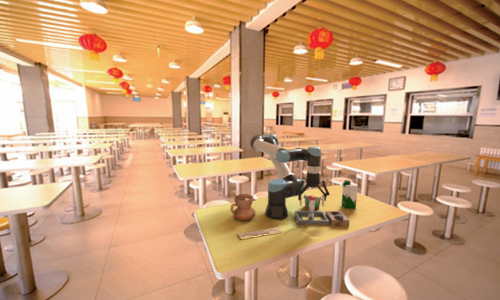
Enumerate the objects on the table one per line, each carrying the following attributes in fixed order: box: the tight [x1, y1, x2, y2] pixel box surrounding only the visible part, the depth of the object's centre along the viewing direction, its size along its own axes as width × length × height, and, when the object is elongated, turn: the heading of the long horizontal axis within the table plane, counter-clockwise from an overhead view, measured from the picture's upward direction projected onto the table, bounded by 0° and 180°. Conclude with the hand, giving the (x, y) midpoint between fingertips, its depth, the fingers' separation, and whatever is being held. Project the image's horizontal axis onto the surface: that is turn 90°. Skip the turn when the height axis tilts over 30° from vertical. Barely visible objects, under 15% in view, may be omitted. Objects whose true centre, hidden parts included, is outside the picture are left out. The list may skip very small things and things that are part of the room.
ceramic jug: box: [230, 193, 256, 221], centre depth 135 cm, size 18×14×14 cm
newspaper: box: [237, 226, 282, 239], centre depth 116 cm, size 24×7×2 cm, turn 107°
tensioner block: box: [324, 210, 350, 228], centre depth 128 cm, size 10×12×7 cm
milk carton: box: [341, 179, 359, 210], centre depth 150 cm, size 9×9×20 cm
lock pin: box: [307, 195, 316, 220], centre depth 130 cm, size 4×4×16 cm
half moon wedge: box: [303, 193, 322, 211], centre depth 146 cm, size 12×6×10 cm, turn 62°
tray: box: [294, 210, 330, 227], centre depth 131 cm, size 18×13×4 cm
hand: (311, 205), depth 130 cm, fingers open, 13 cm apart
